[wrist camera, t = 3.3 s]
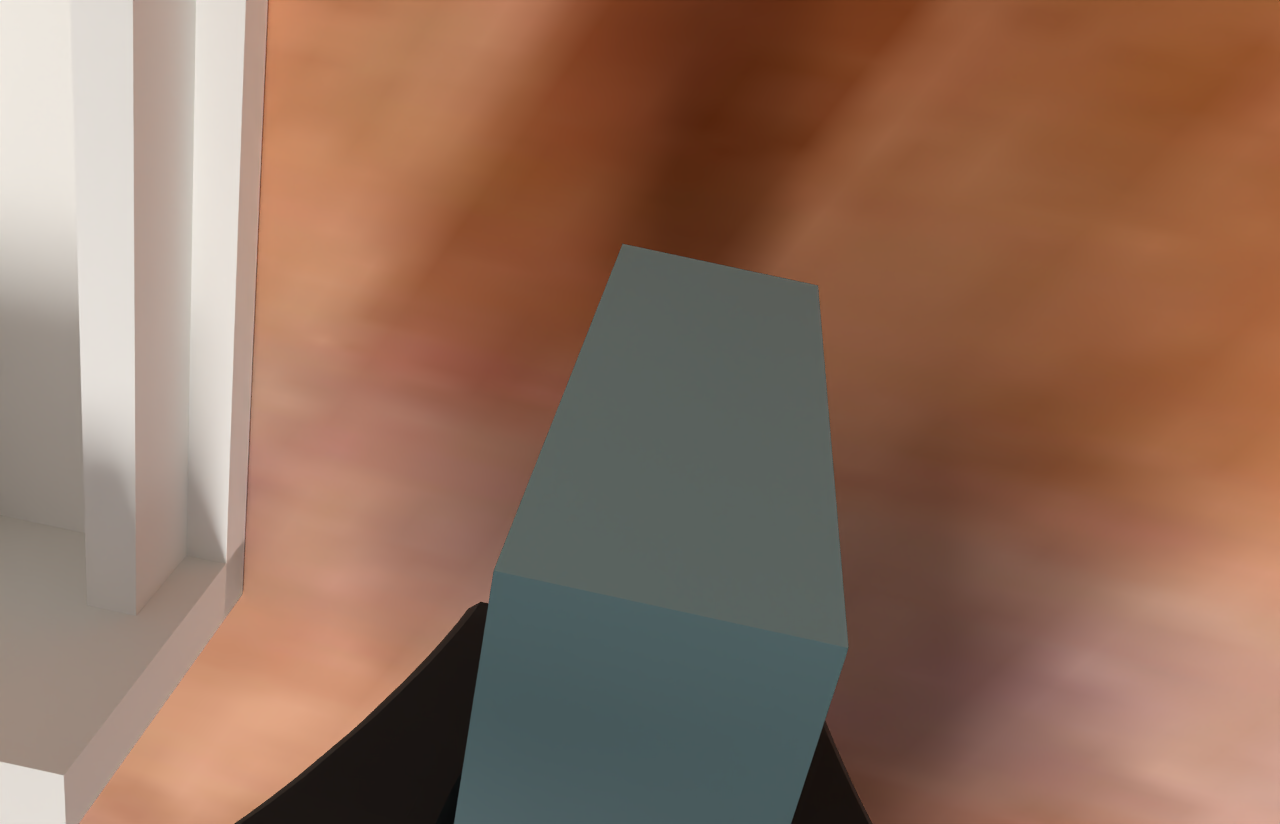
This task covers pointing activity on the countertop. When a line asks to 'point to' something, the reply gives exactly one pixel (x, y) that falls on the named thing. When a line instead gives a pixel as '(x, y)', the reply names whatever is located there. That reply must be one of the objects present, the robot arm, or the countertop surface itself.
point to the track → (119, 369)
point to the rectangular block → (668, 567)
